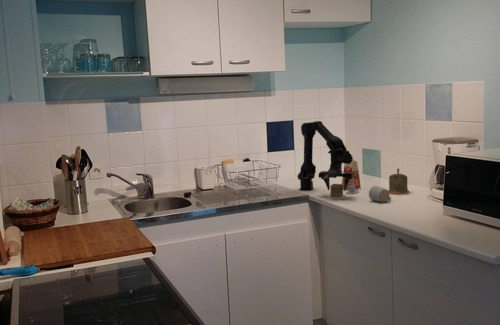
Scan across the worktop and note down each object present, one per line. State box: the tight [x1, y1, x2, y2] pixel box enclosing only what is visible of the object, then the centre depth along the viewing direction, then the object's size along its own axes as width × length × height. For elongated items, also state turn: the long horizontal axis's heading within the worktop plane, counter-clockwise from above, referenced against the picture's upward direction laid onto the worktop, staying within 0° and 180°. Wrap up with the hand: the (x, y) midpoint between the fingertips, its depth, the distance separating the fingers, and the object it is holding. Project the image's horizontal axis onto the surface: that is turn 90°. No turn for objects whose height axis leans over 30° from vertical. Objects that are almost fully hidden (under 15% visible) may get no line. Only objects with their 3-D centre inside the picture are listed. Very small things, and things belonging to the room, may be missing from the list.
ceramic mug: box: [368, 185, 392, 203], centre depth 264 cm, size 11×8×8 cm
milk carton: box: [341, 158, 362, 192], centre depth 297 cm, size 9×9×20 cm
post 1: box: [328, 194, 346, 199], centre depth 279 cm, size 7×7×6 cm
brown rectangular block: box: [330, 183, 344, 197], centre depth 279 cm, size 5×5×6 cm
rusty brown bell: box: [387, 167, 410, 196], centre depth 285 cm, size 12×18×12 cm, turn 164°
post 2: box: [345, 185, 360, 195], centre depth 287 cm, size 6×6×4 cm
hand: (336, 190), depth 279 cm, fingers open, 9 cm apart
